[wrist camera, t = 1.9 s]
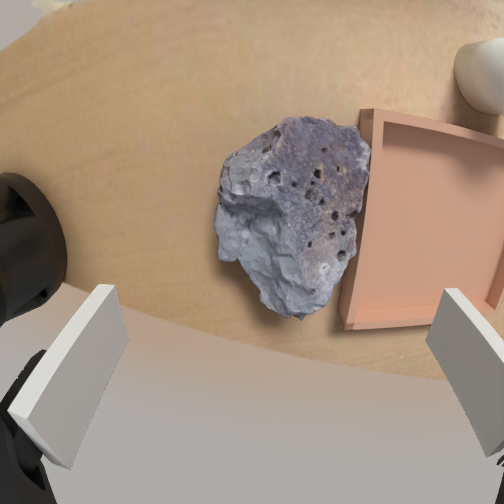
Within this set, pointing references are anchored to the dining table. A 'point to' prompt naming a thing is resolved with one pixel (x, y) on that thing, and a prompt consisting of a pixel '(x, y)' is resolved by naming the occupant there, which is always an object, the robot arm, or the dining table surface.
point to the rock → (293, 210)
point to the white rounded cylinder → (482, 75)
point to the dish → (425, 222)
